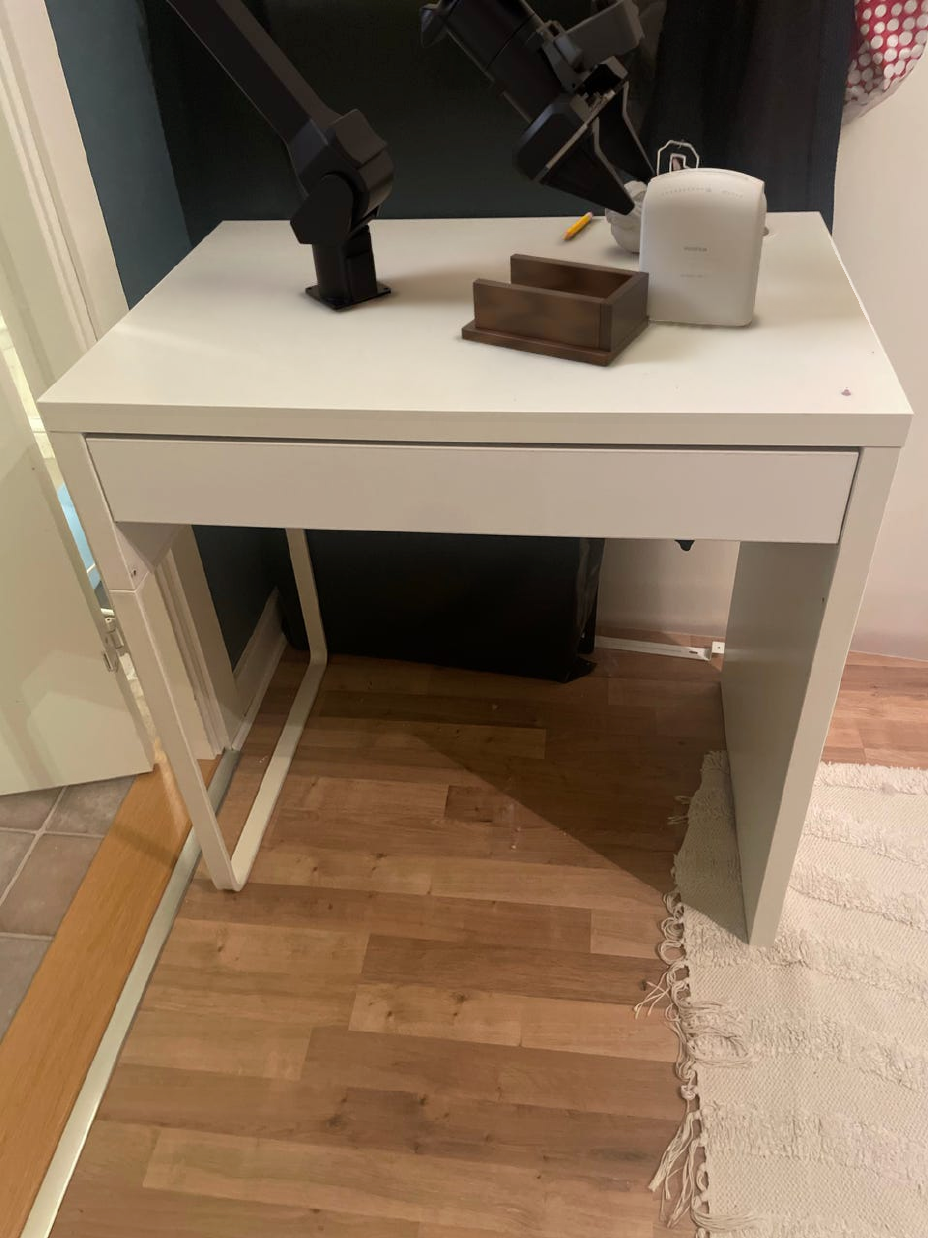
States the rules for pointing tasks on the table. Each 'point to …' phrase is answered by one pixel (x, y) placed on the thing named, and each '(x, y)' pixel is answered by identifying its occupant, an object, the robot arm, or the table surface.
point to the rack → (561, 309)
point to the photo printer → (702, 245)
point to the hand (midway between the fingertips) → (640, 193)
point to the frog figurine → (628, 219)
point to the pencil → (578, 225)
